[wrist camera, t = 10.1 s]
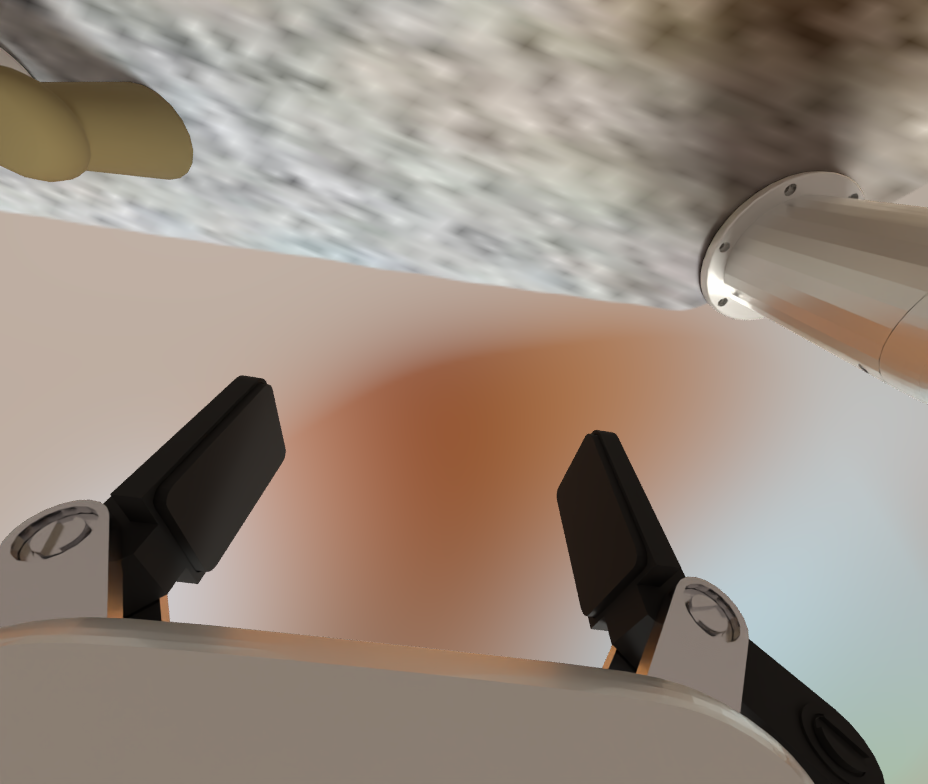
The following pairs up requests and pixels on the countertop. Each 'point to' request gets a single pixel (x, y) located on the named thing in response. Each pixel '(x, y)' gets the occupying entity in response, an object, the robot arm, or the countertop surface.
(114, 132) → the cork
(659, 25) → the countertop surface
